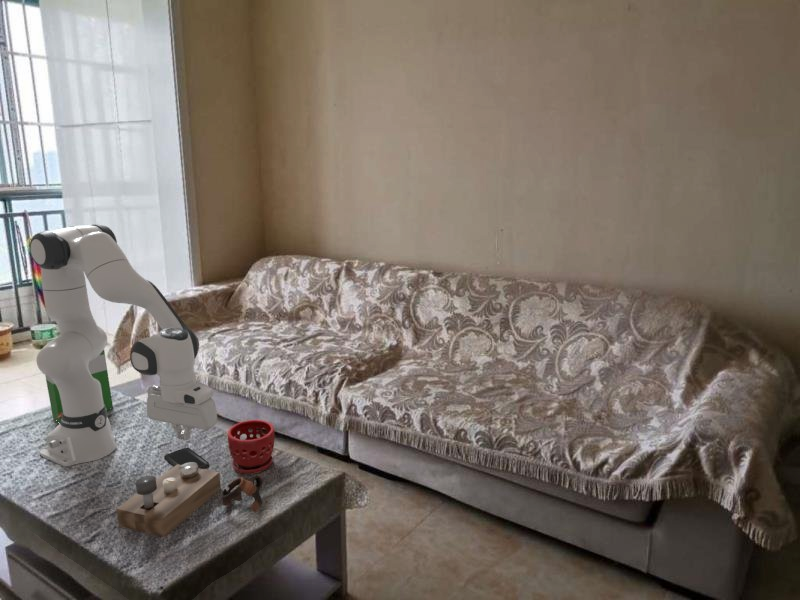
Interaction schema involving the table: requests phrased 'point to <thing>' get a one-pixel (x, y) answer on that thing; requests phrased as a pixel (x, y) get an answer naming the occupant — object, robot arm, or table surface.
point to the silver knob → (189, 470)
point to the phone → (185, 458)
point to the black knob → (146, 489)
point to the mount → (169, 503)
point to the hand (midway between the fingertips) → (183, 438)
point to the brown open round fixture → (247, 488)
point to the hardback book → (97, 372)
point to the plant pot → (251, 446)
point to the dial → (169, 485)
